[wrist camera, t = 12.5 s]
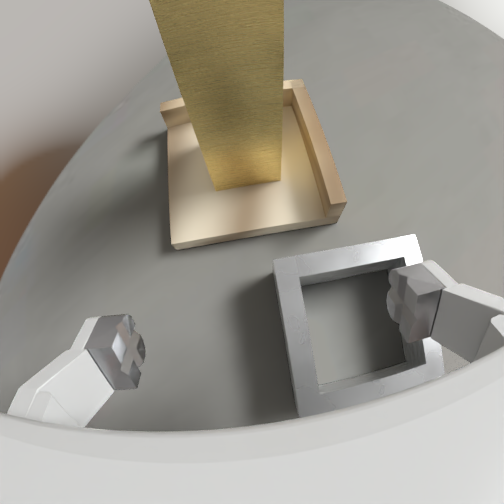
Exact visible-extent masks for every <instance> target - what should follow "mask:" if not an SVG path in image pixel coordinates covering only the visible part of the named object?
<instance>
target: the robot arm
mask: <svg viewBox="0 0 504 504" xmlns="http://www.w3.org/2000/svg"><path fill="white" fill-rule="evenodd" d="M388 281H389V283H390V284H391V286H392V287H391V288H390V290H389V291H388V293H387V301H386V302H387V309H388V312H389V315H390V317H391V318H392V320H393V321H395V322H397V323H399V324H400V327H399V331H400V332H401V334H402V335H403V337H404V338H405V340H406V342H407V343H411V342H415V341H418V340H422V339H425V338H428V337H430V338H431V339H433V340H434V341H436V342H438V343H439V344H441V345H442V346H444V347H446V348H447V349H449V350H451V351H452V352H454V353H456V354H457V355H459V356H460V357H462V358H464V359H465V360H467V361H469V362H470V363H469V364H467V365H465V366H463V367H461V368H459V369H456V370H454V371H452V372H449V373H447V374H445V375H442V376H440V377H437V378H435V379H432V380H430V381H427V382H425V383H422V384H419V385H417V386H414V387H411V388H408V389H406V390H403V391H400V392H397V393H394V394H391V395H388V396H385V397H381V398H378V399H375V400H372V401H368V402H365V403H361V404H358V405H354V406H350V407H346V408H342V409H338V410H334V411H330V412H326V413H321V414H317V415H312V416H307V417H302V418H297V419H291V420H286V421H280V422H273V423H267V424H260V425H252V426H244V427H235V428H224V429H212V430H196V431H121V430H106V429H94V428H84V427H85V426H86V425H87V423H88V422H89V421H90V420H91V419H92V417H93V416H94V415H95V414H96V413H97V411H98V410H99V409H100V408H101V407H102V405H103V404H104V403H105V402H106V401H107V399H108V398H109V397H110V396H111V395H112V393H113V392H114V390H126V389H137V388H138V384H139V380H140V376H141V372H140V370H139V367H140V366H141V365H142V364H143V363H144V360H145V345H144V342H143V339H142V337H141V335H140V334H139V333H137V332H136V331H135V330H134V327H135V322H134V320H133V319H132V317H131V316H130V315H129V314H121V315H110V316H102V317H100V316H99V317H90V318H88V319H86V321H85V323H84V324H83V326H82V328H81V330H80V332H79V334H78V336H77V337H76V339H75V341H74V343H73V345H72V347H71V349H70V350H66V351H65V352H63V353H62V354H61V355H60V356H58V357H57V358H56V359H55V360H53V361H52V362H51V363H49V364H48V365H47V366H46V367H44V368H43V369H42V370H41V371H39V372H38V373H37V374H36V375H34V376H33V377H32V378H31V379H29V380H28V381H27V382H26V383H24V384H23V385H22V386H21V387H20V388H19V389H18V391H17V393H16V395H15V397H14V399H13V401H12V403H11V405H10V408H9V410H8V412H7V414H5V413H1V412H0V504H504V298H502V297H499V296H497V295H494V294H491V293H488V292H485V291H483V290H480V289H477V288H474V287H471V286H468V285H465V284H463V283H462V284H458V283H457V282H456V281H455V280H454V279H453V278H452V277H451V276H449V275H448V274H447V273H446V272H445V271H444V270H443V269H442V268H441V267H440V266H439V265H438V264H437V263H436V262H434V261H433V260H427V261H423V262H419V263H417V264H413V265H409V266H405V267H400V268H396V269H392V270H391V271H390V273H389V280H388Z"/></svg>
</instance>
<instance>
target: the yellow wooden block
mask: <svg viewBox="0 0 504 504" xmlns="http://www.w3.org/2000/svg"><path fill="white" fill-rule="evenodd" d="M149 1H150V4H151V7H152V10H153V13H154V16H155V19H156V22H157V25H158V28H159V31H160V34H161V37H162V40H163V43H164V46H165V49H166V52H167V54H168V57H169V60H170V63H171V66H172V69H173V72H174V75H175V78H176V81H177V83H178V86H179V89H180V92H181V95H182V98H183V101H184V104H185V106H186V109H187V112H188V115H189V118H190V121H191V123H192V126H193V129H194V132H195V135H196V138H197V140H198V143H199V146H200V149H201V152H202V154H203V157H204V160H205V163H206V166H207V168H208V171H209V174H210V177H211V179H212V182H213V185H214V188H215V191H221V190H226V189H232V188H238V187H243V186H249V185H255V184H261V183H268V182H274V181H280V180H281V161H282V125H283V66H284V0H149Z"/></svg>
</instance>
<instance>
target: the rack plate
mask: <svg viewBox="0 0 504 504" xmlns="http://www.w3.org/2000/svg"><path fill="white" fill-rule="evenodd" d="M160 112H161V114H162V117H163V119H164V121H165V123H166V125H167V128H168V190H169V213H170V231H171V245H172V246H173V247H174V248H175V249H176V250H180V249H185V248H191V247H196V246H202V245H208V244H213V243H219V242H225V241H231V240H236V239H242V238H248V237H254V236H260V235H266V234H272V233H278V232H284V231H290V230H296V229H302V228H308V227H314V226H320V225H326V224H332V223H337V221H338V219H339V217H340V215H341V213H342V211H343V209H344V207H345V205H346V203H347V200H346V197H345V194H344V191H343V187H342V184H341V181H340V178H339V175H338V172H337V169H336V166H335V163H334V160H333V157H332V155H331V152H330V149H329V146H328V143H327V141H326V138H325V135H324V133H323V130H322V127H321V125H320V122H319V119H318V117H317V114H316V112H315V109H314V107H313V104H312V102H311V99H310V97H309V95H308V92H307V90H306V87H305V85H304V83H303V80H302V79H297V80H286V81H283V125H282V161H281V180H280V181H274V182H268V183H261V184H255V185H249V186H243V187H238V188H232V189H226V190H221V191H215V188H214V185H213V182H212V179H211V177H210V174H209V171H208V168H207V166H206V163H205V160H204V157H203V154H202V152H201V149H200V146H199V143H198V140H197V138H196V135H195V132H194V129H193V126H192V123H191V121H190V118H189V115H188V112H187V109H186V106H185V104H184V101H183V98H179V99H175V100H171V101H167V102H163V103H161V106H160Z"/></svg>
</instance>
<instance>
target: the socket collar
mask: <svg viewBox="0 0 504 504" xmlns="http://www.w3.org/2000/svg"><path fill="white" fill-rule="evenodd" d="M419 262H423V260H422V256H421V253H420V249H419V246H418V243H417V239H416V236H415V234H413V235H408V236H403V237H397V238H392V239H386V240H381V241H375V242H370V243H364V244H359V245H353V246H347V247H342V248H336V249H331V250H325V251H319V252H314V253H308V254H302V255H296V256H291V257H285V258H279V259H273V276H274V281H275V287H276V293H277V298H278V304H279V310H280V315H281V321H282V327H283V333H284V339H285V345H286V350H287V356H288V362H289V368H290V374H291V381H292V387H293V393H294V399H295V405H296V410H297V412H298V415H299V418H302V417H307V416H312V415H317V414H321V413H326V412H330V411H334V410H338V409H342V408H346V407H350V406H354V405H358V404H361V403H365V402H368V401H372V400H375V399H378V398H381V397H385V396H388V395H391V394H394V393H397V392H400V391H403V390H406V389H408V388H411V387H414V386H417V385H419V384H422V383H425V382H427V381H430V380H432V379H435V378H437V377H440V376H442V375H445V372H444V364H443V357H442V350H441V344H439V343H438V342H436V341H434V340H433V339H431V338H430V337H428V338H425V339H422V340H418V341H415V342H411V343H407V342H406V340H405V338H404V337H403V335H402V334H401V338H402V343H403V349H404V356H405V362H404V363H401V364H398V365H394V366H391V367H388V368H384V369H381V370H378V371H374V372H371V373H367V374H363V375H359V376H356V377H352V378H348V379H344V380H339V381H335V382H331V383H326V384H322V385H318V381H317V375H316V369H315V363H314V357H313V351H312V345H311V339H310V334H309V328H308V322H307V317H306V311H305V306H304V301H303V296H302V290H301V286H305V285H310V284H315V283H321V282H326V281H331V280H336V279H341V278H346V277H351V276H356V275H361V274H366V273H371V272H376V271H380V270H385V269H387V272H388V276H389V273H390V271H391V270H392V269H396V268H400V267H405V266H409V265H413V264H417V263H419ZM391 287H392V286H391ZM399 327H400V324H399Z"/></svg>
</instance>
